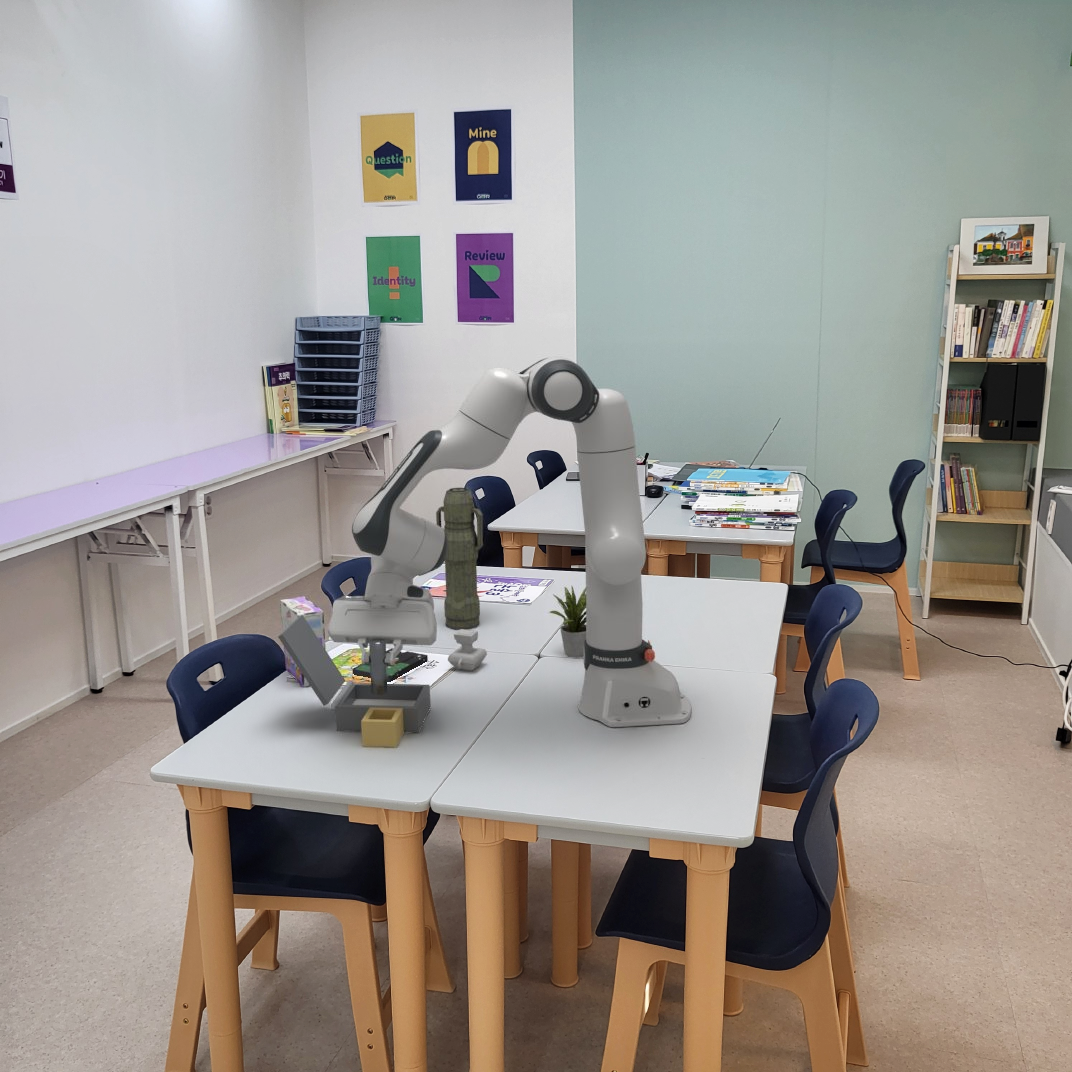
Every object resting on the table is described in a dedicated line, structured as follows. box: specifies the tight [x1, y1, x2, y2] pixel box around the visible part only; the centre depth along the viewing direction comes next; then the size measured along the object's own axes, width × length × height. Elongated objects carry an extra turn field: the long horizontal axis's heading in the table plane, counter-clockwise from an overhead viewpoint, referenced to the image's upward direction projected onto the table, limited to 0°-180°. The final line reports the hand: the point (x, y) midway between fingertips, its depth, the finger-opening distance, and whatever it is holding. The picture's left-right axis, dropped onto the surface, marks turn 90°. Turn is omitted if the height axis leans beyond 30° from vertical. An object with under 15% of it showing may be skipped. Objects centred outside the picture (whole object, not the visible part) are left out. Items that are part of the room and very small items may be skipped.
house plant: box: [548, 586, 586, 658], centre depth 227 cm, size 14×14×16 cm
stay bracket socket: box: [361, 707, 405, 748], centre depth 186 cm, size 6×6×5 cm
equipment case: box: [330, 679, 431, 733], centre depth 195 cm, size 17×12×6 cm
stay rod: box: [368, 638, 387, 695], centre depth 183 cm, size 3×3×10 cm
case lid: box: [277, 615, 346, 707], centre depth 194 cm, size 16×12×1 cm
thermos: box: [435, 487, 484, 631], centre depth 248 cm, size 9×12×35 cm
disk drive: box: [352, 647, 429, 682], centre depth 221 cm, size 10×3×15 cm
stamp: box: [447, 629, 488, 672], centre depth 222 cm, size 9×7×8 cm
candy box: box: [279, 596, 326, 688], centre depth 217 cm, size 14×6×16 cm, turn 30°
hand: (377, 663), depth 182 cm, fingers closed on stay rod, 3 cm apart
